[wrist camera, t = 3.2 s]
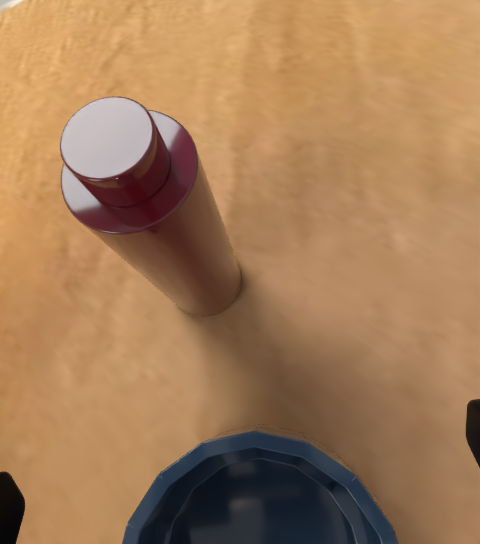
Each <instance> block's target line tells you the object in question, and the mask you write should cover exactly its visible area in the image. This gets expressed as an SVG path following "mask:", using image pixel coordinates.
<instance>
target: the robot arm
mask: <svg viewBox="0 0 480 544" xmlns="http://www.w3.org/2000/svg"><path fill="white" fill-rule="evenodd" d="M466 438H467V442H468V445H469V447H470V449H471V451H472V453H473V455H474V457H475V459H476V461H477V463H478V465H479V468H480V399H476V400H471V401H470V402H469V403H468V405H467V418H466ZM24 511H25V500H24V497H23V495H22V493H21V491H20V490H19V488H18V486H17V485H16V483H15V481H14V480H13V478H12V476H11V475H10V474H9V473H8V472H4V471H3V472H0V544H16V541H17V537H18V534H19V530H20V526H21V522H22V519H23V515H24Z"/></svg>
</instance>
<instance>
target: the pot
mask: <svg viewBox="0 0 480 544" xmlns="http://www.w3.org/2000/svg"><path fill="white" fill-rule="evenodd" d="M122 544H398V540H397V537H396V533H395V530H394V529H393V526H392V525H391V523H390V522H389V521H388V519H387V518H386V516H385V515H384V514H383V512H382V511H381V509H380V508H379V506H378V505H377V504H376V502H375V501H374V499H373V498H372V497H371V495H370V494H369V492H368V491H367V489H366V488H365V487H364V485H363V484H362V482H361V481H360V480H359V478H358V477H357V476H356V475H355V473H354V472H353V471H352V470H351V469H350V468H349V467H348V466H347V465H346V464H345V463H344V462H343V461H342V459H341V458H340V457H338V456H337V455H335V454H334V453H332V452H331V451H329V450H328V449H326V448H325V447H323V446H322V445H320V444H319V443H317V442H316V441H314V440H313V439H312V438H310V437H309V436H307V435H306V434H304V433H303V434H302V433H301V432H297V431H292V430H287V429H282V428H277V427H273V426H268V425H260V424H259V425H255V426H250V427H246V428H241V429H237V430H232V431H227V432H223V433H220V434H218V435H216V436H214V437H212V438H210V439H208V440H206V441H204V442H202V443H200V444H199V445H198V446H196V447H195V448H194V449H192V450H191V451H189V452H188V453H187V454H185V455H184V456H183V457H181V458H180V459H178V460H177V461H176V462H174V463H173V464H172V465H170V466H169V467H167V468H166V469H165V470H163V471H162V472H161V473H160V474H159V475H158V476H157V477H156V479H155V480H154V482H153V484H152V485H151V487H150V488H149V490H148V491H147V493H146V495H145V496H144V498H143V499H142V501H141V502H140V504H139V506H138V507H137V509H136V510H135V512H134V513H133V515H132V517H131V518H130V520H129V521H128V524H127V526H126V530H125V534H124V538H123V543H122Z"/></svg>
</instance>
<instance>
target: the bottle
mask: <svg viewBox="0 0 480 544" xmlns="http://www.w3.org/2000/svg"><path fill="white" fill-rule="evenodd" d="M60 151H61V157H62V160H63V162H64V163H63V167H62V172H61V189H62V194H63V197H64V201H65V203H66V205H67V207H68V209H69V210H70V212H71V213H72V214H73V215H74V217H75V218H76V219H77V220H78V221H80V222H81V223H82V224H83V225H84V226H85V227H87V228H88V229H89V230H90V231H91V232H92V233H94V234H95V235H96V236H97V237H98V238H99V239H100V240H102V241H103V242H104V243H105V244H106V245H107V246H109V247H110V248H111V249H112V250H113V251H114V252H116V253H117V254H118V255H119V256H120V257H121V258H123V259H124V260H125V261H126V262H127V263H128V264H129V265H131V266H132V267H133V268H134V269H135V270H136V271H138V272H139V273H140V274H141V275H142V276H143V277H145V278H146V279H147V280H148V281H149V282H150V283H152V284H153V285H154V286H155V287H156V288H157V289H158V290H160V291H161V292H162V293H163V294H164V295H165V296H167V297H168V298H169V299H170V300H171V301H172V302H174V303H175V304H176V305H177V306H178V307H179V308H181V309H182V310H183V311H185V312H187V313H188V314H191V315H194V316H201V317H205V316H212V315H215V314H218V313H220V312H222V311H224V310H225V309H226V308H228V307H229V306H230V305H231V304H232V303H233V302H234V300H235V299H236V297H237V295H238V293H239V291H240V287H241V272H240V268H239V265H238V263H237V260H236V257H235V254H234V252H233V249H232V246H231V243H230V240H229V238H228V235H227V232H226V229H225V226H224V224H223V221H222V218H221V215H220V212H219V210H218V207H217V204H216V201H215V199H214V196H213V193H212V190H211V187H210V185H209V182H208V179H207V176H206V173H205V171H204V168H203V165H202V162H201V159H200V157H199V154H198V151H197V148H196V146H195V143H194V141H193V139H192V137H191V135H190V134H189V133H188V131H187V130H186V129H185V128H184V127H183V126H182V125H181V124H180V123H179V122H177V121H176V120H175V119H173V118H171V117H170V116H168V115H165V114H163V113H160V112H156V111H152V110H147V109H146V108H145V107H144V106H143V105H141V104H140V103H138V102H136V101H134V100H132V99H129V98H125V97H106V98H102V99H98V100H95V101H93V102H91V103H89V104H87V105H85V106H84V107H82V108H81V109H80V110H78V111H77V112H76V113H75V114H74V115H73V116H72V117H71V119H70V120H69V121H68V123H67V124H66V126H65V128H64V130H63V132H62V136H61V141H60Z"/></svg>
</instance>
